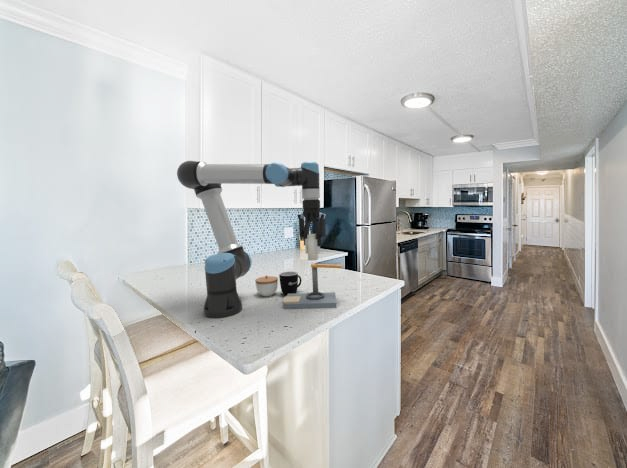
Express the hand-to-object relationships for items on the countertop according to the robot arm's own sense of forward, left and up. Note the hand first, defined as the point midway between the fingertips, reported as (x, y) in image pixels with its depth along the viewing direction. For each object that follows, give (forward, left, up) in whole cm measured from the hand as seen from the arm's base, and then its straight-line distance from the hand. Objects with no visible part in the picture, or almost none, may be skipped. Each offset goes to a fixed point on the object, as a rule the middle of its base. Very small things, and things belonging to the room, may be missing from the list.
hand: (312, 253), depth 119 cm
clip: (+5, +3, -7) cm, 9 cm away
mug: (-12, +13, -22) cm, 28 cm away
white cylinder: (0, 0, -3) cm, 3 cm away
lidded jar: (-24, +12, -22) cm, 34 cm away
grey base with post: (-2, -1, -22) cm, 22 cm away
